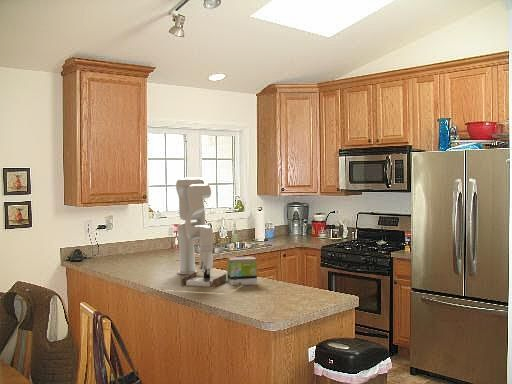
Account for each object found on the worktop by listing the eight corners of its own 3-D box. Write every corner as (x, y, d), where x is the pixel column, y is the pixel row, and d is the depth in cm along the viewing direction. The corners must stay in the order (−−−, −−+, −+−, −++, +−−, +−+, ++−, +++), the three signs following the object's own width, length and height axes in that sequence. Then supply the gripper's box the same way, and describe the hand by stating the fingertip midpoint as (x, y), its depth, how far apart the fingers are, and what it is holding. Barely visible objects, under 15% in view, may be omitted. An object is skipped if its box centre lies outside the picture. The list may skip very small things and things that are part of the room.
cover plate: (194, 281, 309) (193, 277, 309) (216, 283, 305) (216, 278, 305) (186, 285, 300) (186, 280, 299) (209, 286, 295) (209, 282, 295)
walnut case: (194, 280, 316) (194, 272, 316) (226, 282, 310) (226, 273, 310) (181, 286, 300) (181, 277, 300) (214, 288, 294) (214, 279, 294)
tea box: (231, 286, 299) (230, 259, 298) (227, 283, 308) (226, 257, 308) (257, 284, 303) (257, 258, 302) (252, 281, 312) (252, 255, 312)
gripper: (205, 246, 316) (206, 278, 317) (194, 250, 302) (195, 283, 303) (217, 247, 314) (218, 278, 314) (207, 250, 300) (207, 283, 300)
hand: (207, 280), depth 309 cm, fingers closed
